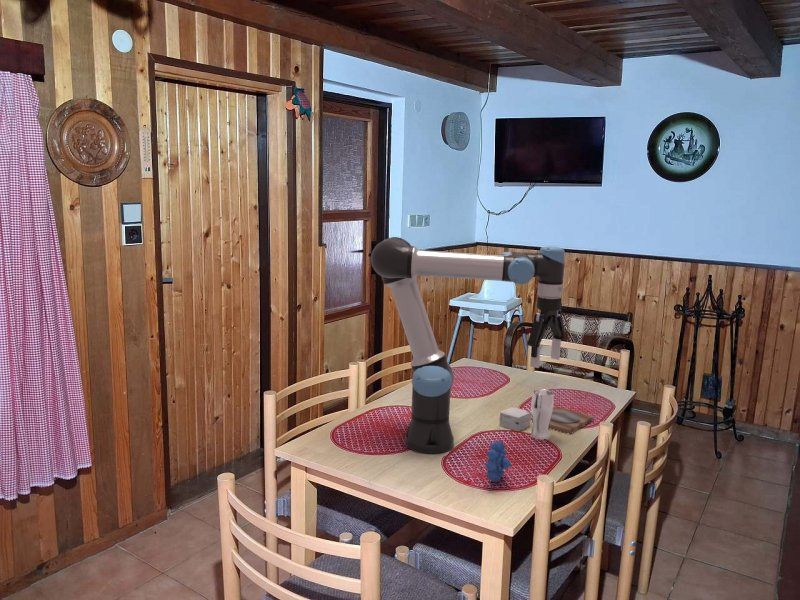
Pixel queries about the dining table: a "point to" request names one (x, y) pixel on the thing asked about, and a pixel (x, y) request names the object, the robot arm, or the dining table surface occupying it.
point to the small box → (515, 418)
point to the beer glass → (541, 413)
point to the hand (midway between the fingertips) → (545, 363)
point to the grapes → (496, 461)
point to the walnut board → (568, 420)
